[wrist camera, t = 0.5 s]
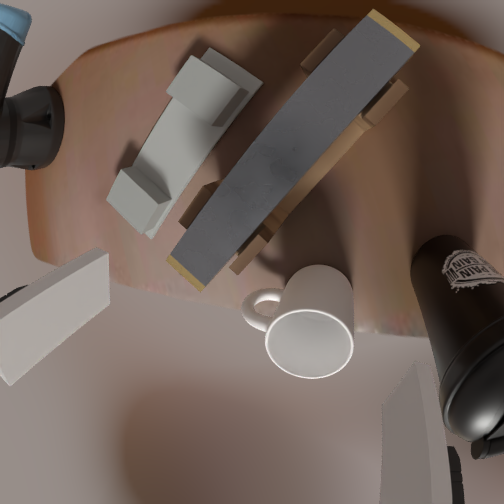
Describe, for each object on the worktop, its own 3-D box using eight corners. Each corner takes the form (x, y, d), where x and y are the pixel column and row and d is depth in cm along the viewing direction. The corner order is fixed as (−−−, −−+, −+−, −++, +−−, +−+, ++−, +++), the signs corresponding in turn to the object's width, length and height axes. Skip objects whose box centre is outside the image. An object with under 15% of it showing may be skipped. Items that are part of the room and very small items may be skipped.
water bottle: (484, 229, 26) (605, 347, 6) (469, 307, 30) (534, 454, 9) (407, 225, 29) (493, 372, 9) (398, 307, 33) (425, 480, 12)
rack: (214, 210, 35) (167, 237, 26) (348, 51, 24) (349, 12, 15) (257, 248, 35) (224, 289, 26) (398, 93, 25) (424, 71, 15)
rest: (115, 201, 39) (99, 207, 36) (210, 48, 28) (197, 40, 25) (152, 238, 39) (138, 246, 36) (263, 83, 28) (255, 76, 25)
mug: (253, 307, 38) (224, 357, 29) (260, 249, 35) (229, 289, 26) (343, 328, 36) (339, 385, 27) (361, 270, 33) (365, 319, 23)
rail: (218, 273, 28) (200, 292, 25) (187, 245, 28) (165, 260, 25) (408, 60, 17) (420, 45, 13) (369, 28, 17) (373, 8, 13)
